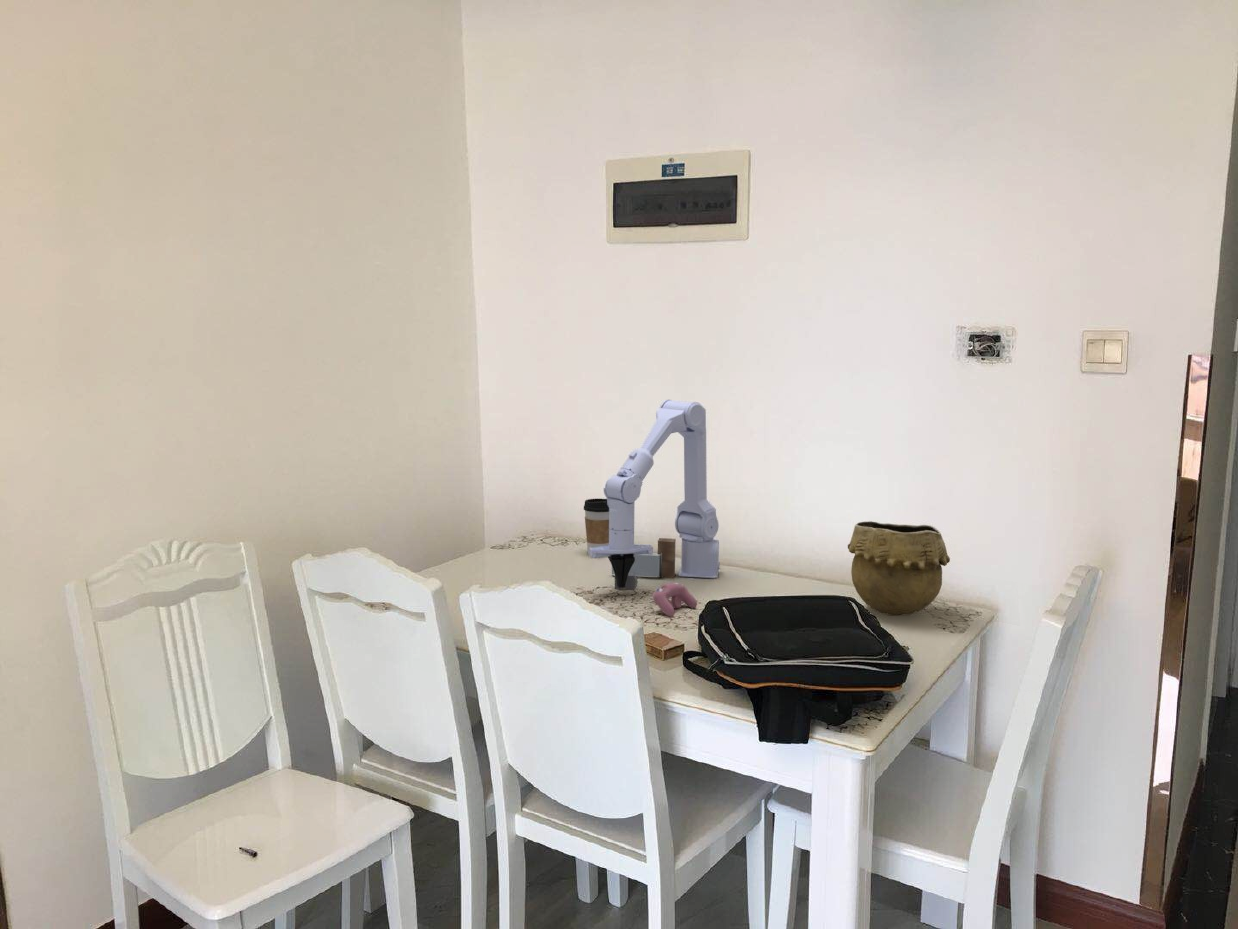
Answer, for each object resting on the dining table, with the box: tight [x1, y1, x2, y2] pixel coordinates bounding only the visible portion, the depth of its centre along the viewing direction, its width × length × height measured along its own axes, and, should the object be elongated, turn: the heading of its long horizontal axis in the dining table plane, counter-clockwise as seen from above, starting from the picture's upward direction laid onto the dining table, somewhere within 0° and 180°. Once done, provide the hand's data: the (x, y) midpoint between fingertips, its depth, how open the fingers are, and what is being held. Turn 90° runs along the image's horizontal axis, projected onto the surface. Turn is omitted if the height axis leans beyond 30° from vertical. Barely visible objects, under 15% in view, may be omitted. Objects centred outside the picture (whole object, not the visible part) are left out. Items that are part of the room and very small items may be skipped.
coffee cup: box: [583, 498, 609, 556], centre depth 257 cm, size 8×8×15 cm
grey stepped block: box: [614, 573, 638, 591], centre depth 228 cm, size 4×7×4 cm, turn 172°
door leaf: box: [611, 553, 660, 578], centre depth 235 cm, size 12×2×5 cm, turn 81°
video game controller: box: [652, 582, 698, 618], centre depth 208 cm, size 10×5×7 cm, turn 141°
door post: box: [657, 537, 677, 579], centre depth 236 cm, size 4×5×9 cm
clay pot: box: [847, 520, 951, 617], centre depth 207 cm, size 21×21×20 cm
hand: (621, 586), depth 220 cm, fingers closed
